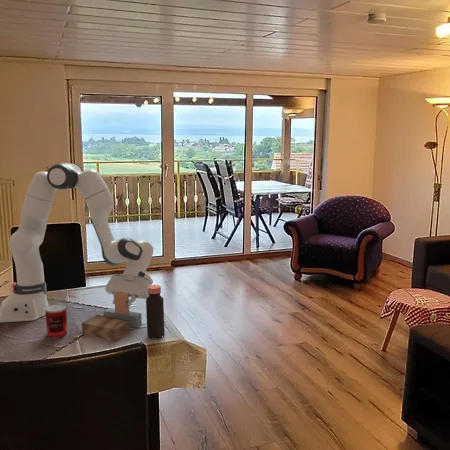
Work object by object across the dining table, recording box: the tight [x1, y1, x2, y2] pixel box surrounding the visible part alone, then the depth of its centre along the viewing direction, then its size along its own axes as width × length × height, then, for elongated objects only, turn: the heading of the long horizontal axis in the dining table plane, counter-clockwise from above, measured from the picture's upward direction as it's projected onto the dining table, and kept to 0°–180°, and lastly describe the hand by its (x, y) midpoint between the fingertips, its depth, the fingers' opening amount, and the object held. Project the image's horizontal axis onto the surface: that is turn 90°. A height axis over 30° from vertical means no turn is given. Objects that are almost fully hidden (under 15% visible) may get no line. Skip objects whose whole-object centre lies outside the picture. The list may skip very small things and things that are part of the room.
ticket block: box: [81, 314, 131, 342], centre depth 190 cm, size 16×9×5 cm, turn 67°
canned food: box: [45, 304, 68, 339], centre depth 189 cm, size 8×8×11 cm
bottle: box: [145, 284, 166, 339], centre depth 187 cm, size 7×7×20 cm
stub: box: [103, 292, 143, 328], centre depth 199 cm, size 16×4×13 cm, turn 67°
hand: (121, 304), depth 198 cm, fingers closed on stub, 5 cm apart
